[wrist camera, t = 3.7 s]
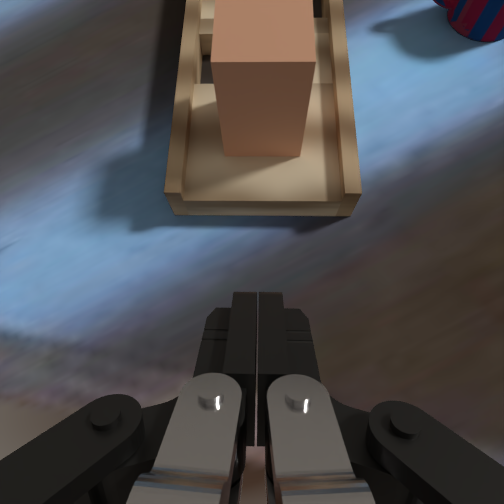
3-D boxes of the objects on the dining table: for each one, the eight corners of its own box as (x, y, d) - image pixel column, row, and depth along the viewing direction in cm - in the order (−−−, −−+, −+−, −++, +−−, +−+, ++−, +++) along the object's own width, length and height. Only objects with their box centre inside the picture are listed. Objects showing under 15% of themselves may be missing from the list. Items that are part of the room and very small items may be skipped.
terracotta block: (300, 156, 29) (316, 61, 21) (224, 156, 30) (210, 62, 21) (298, 97, 31) (311, -11, 23) (227, 97, 32) (216, -10, 23)
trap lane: (350, 216, 30) (366, 183, 25) (174, 215, 31) (159, 182, 26) (325, -75, 44) (333, -131, 39) (204, -73, 44) (197, -128, 39)
